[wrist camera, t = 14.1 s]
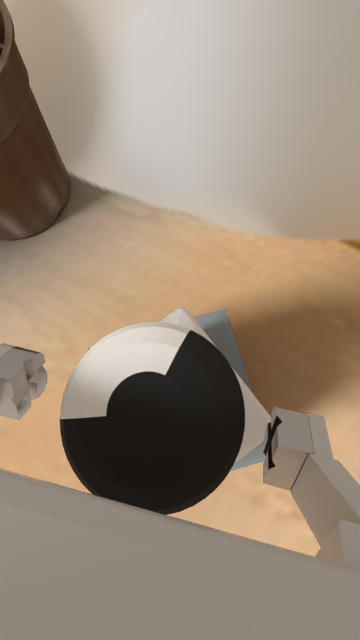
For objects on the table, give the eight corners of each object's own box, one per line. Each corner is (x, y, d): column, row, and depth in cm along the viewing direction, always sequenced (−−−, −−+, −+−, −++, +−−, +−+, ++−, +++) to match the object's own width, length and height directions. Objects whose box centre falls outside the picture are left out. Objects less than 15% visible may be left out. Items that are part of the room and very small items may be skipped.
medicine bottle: (256, 420, 21) (319, 441, 9) (165, 491, 20) (113, 607, 9) (189, 332, 23) (173, 258, 11) (104, 395, 22) (-8, 387, 10)
